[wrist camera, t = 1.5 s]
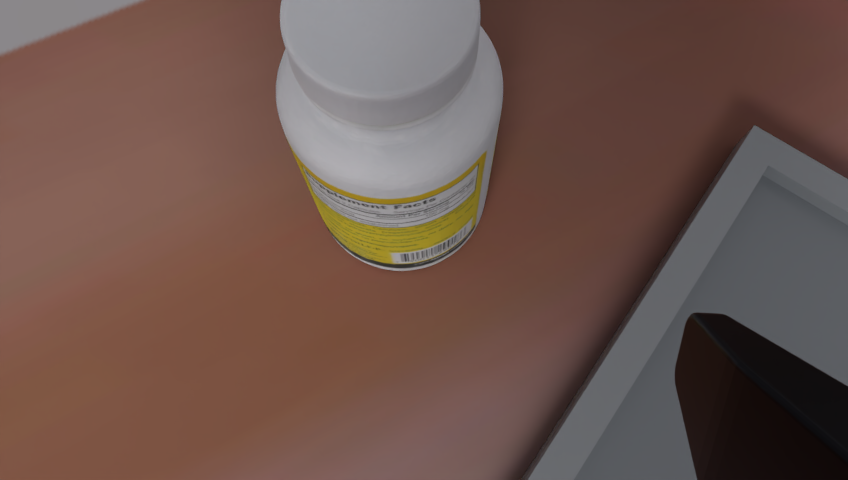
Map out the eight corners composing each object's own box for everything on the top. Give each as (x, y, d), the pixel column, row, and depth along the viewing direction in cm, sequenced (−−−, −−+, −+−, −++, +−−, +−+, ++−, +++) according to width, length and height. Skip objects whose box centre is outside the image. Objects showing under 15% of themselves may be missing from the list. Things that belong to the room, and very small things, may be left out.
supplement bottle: (363, 99, 24) (323, -136, 15) (509, 158, 23) (563, -50, 14) (289, 235, 23) (192, 66, 13) (443, 303, 22) (454, 175, 13)
